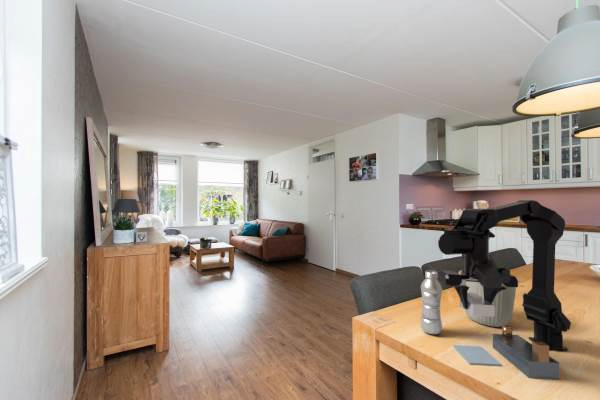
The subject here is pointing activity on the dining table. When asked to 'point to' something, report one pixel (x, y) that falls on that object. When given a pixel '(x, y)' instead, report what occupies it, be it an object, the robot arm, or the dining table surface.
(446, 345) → the dining table surface
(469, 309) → the lever cap
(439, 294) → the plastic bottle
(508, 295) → the canister
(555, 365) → the body
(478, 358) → the rubber pad
